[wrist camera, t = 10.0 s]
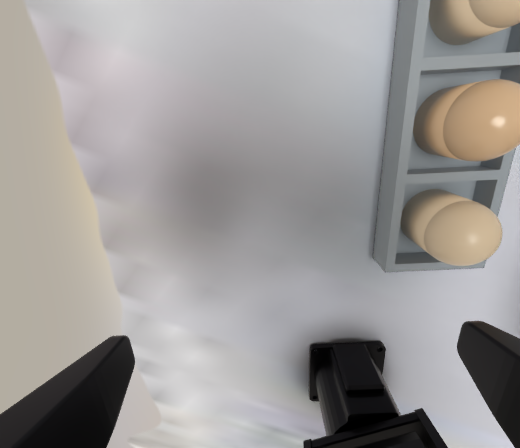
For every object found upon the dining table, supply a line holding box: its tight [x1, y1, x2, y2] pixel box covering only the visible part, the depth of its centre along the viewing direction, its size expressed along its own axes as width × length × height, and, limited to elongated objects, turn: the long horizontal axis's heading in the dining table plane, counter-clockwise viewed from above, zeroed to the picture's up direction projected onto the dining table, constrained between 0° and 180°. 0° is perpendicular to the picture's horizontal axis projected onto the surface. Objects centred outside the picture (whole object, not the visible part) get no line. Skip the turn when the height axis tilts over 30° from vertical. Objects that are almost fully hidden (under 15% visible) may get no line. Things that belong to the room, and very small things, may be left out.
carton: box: [373, 0, 520, 272], centre depth 15 cm, size 19×7×6 cm, turn 3°
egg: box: [413, 79, 520, 162], centre depth 15 cm, size 4×4×5 cm
